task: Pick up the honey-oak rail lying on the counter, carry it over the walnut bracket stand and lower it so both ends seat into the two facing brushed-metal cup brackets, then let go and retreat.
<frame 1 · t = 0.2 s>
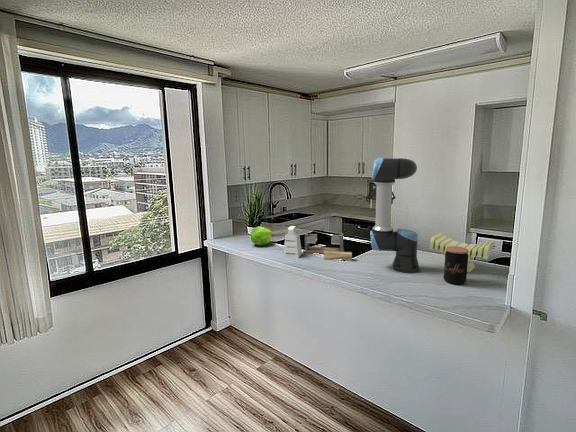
hand: (380, 208, 236), 28 cm above the table, fingers open, 13 cm apart
coffee jar: (454, 281, 171), on the table
slatted curved stool: (459, 268, 191), on the table
rail: (337, 259, 211), on the table
bracket stand: (324, 251, 228), on the table
lettuce: (262, 244, 249), on the table
grater: (292, 255, 221), on the table
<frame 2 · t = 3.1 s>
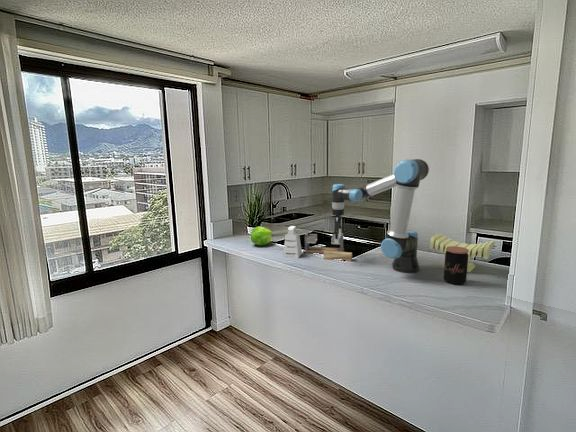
hand: (337, 240, 209), 12 cm above the table, fingers open, 13 cm apart
nothing on the table moved.
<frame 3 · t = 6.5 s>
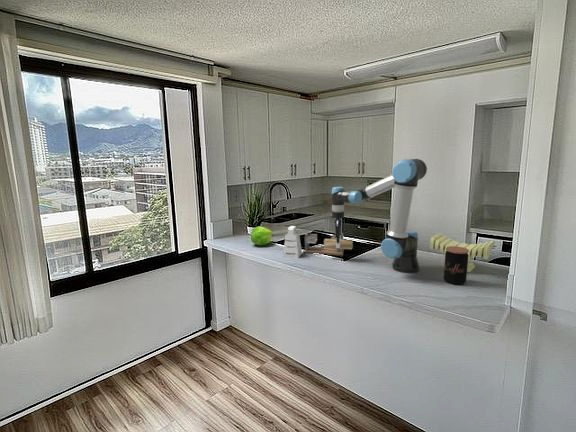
hand: (338, 246, 209), 9 cm above the table, fingers closed on rail, 4 cm apart
rail: (338, 247, 209), point 8 cm above the table, touching gripper
everything else where it was.
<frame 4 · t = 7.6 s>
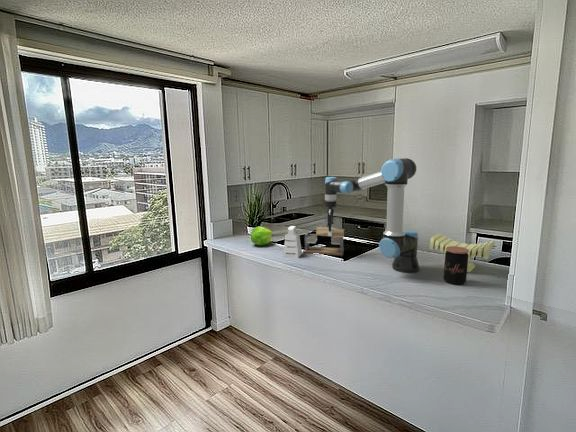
hand: (330, 234, 217), 14 cm above the table, fingers closed on rail, 4 cm apart
rail: (330, 235, 217), point 14 cm above the table, touching gripper
everything else where it was.
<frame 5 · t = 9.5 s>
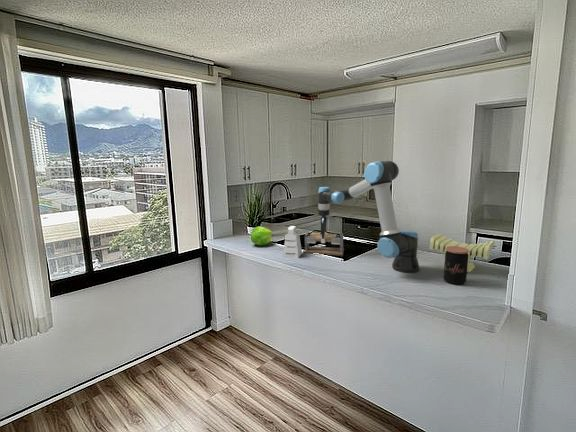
hand: (323, 241, 227), 7 cm above the table, fingers closed on rail, 4 cm apart
rail: (323, 240, 226), point 8 cm above the table, touching bracket stand, gripper
everything else where it was.
when the fingers open (7 cm above the table, at t = 10.2 s): rail stays where it is, resting on bracket stand.
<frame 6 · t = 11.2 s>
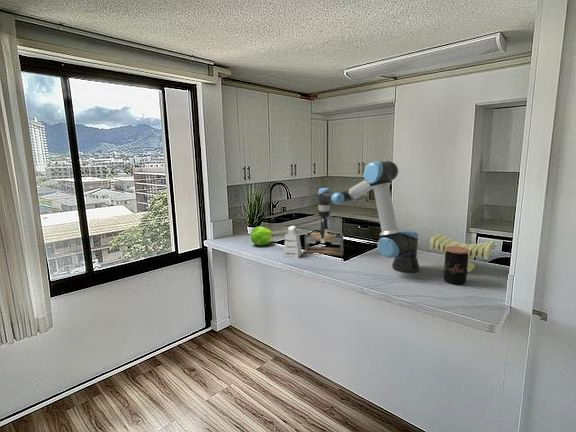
hand: (324, 240, 226), 8 cm above the table, fingers open, 13 cm apart
rail: (323, 240, 226), point 8 cm above the table, touching bracket stand
everything else where it was.
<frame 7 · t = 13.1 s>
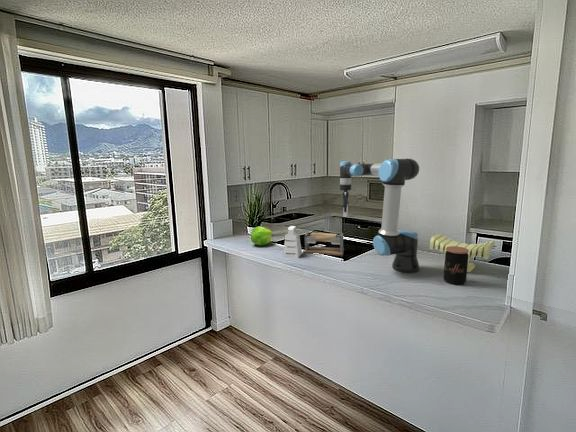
hand: (345, 215, 223), 26 cm above the table, fingers open, 13 cm apart
nothing on the table moved.
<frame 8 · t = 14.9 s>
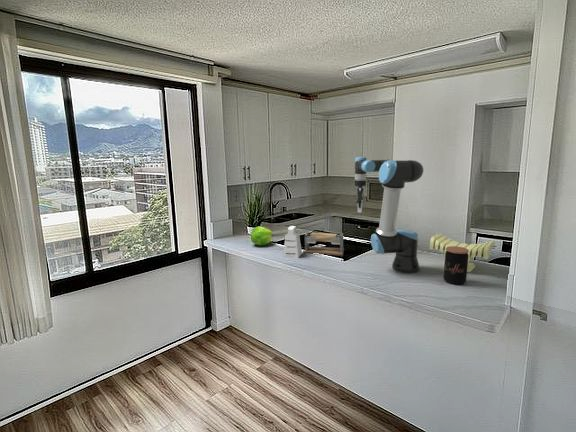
hand: (359, 210, 223), 29 cm above the table, fingers open, 13 cm apart
nothing on the table moved.
at the end: rail 0.2 cm off-centre on the bracket stand, point 8.0 cm above the bracket stand's base; rail tilted 0°; the gripper is holding nothing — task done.
